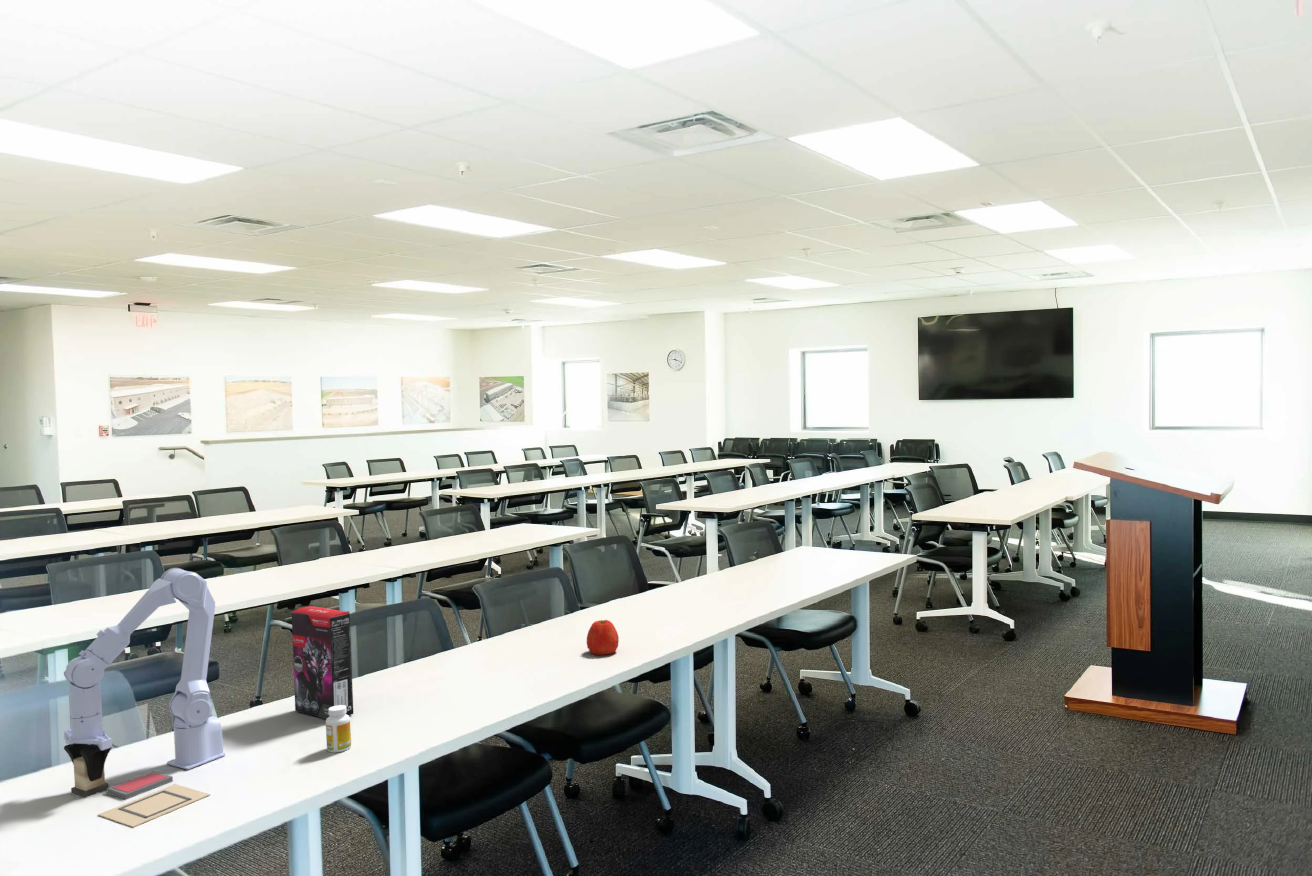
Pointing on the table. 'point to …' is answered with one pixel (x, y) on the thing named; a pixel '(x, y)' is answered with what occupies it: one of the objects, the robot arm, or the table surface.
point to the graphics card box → (322, 660)
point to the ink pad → (139, 784)
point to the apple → (602, 638)
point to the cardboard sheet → (153, 805)
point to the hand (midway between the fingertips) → (89, 777)
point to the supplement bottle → (338, 729)
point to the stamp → (86, 780)
